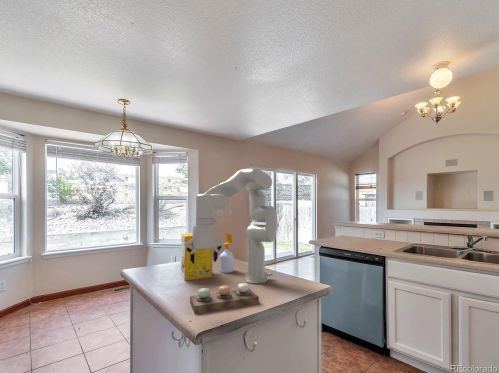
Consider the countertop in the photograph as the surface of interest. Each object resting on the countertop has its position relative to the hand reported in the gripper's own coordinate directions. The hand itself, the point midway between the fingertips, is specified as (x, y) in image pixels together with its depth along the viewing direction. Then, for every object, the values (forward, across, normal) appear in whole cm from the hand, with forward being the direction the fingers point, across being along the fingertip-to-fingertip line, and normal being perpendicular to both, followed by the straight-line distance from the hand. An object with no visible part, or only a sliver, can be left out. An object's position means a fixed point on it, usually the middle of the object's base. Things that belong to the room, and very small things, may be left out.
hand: (204, 262), depth 112 cm
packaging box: (+19, -5, -49) cm, 53 cm away
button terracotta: (+14, -9, 0) cm, 17 cm away
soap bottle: (+18, -25, -51) cm, 60 cm away
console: (+19, -9, 0) cm, 21 cm away
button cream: (+14, -18, 0) cm, 23 cm away
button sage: (+14, 0, 0) cm, 14 cm away
